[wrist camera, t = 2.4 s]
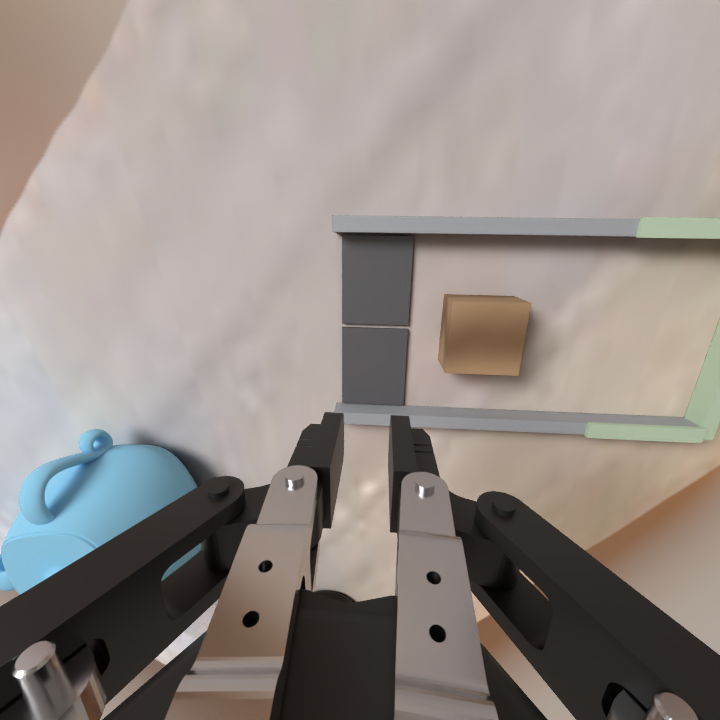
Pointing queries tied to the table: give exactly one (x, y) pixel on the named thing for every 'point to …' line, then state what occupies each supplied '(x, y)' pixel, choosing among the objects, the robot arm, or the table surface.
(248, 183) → the table surface
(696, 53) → the table surface
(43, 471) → the decorative pot
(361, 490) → the table surface
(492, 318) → the walnut block
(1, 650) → the robot arm
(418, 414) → the frame
